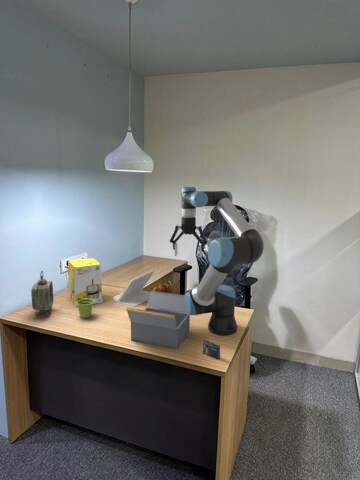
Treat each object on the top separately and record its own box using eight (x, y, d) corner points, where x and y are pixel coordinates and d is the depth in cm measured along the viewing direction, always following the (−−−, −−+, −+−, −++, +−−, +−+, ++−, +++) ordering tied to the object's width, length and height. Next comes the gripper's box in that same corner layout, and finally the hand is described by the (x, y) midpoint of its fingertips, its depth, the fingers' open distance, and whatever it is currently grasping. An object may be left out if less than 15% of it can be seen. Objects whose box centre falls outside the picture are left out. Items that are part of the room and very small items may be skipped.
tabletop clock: (50, 317, 185) (47, 274, 180) (32, 318, 183) (29, 275, 179) (54, 307, 199) (51, 267, 194) (38, 308, 197) (35, 268, 193)
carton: (189, 332, 170) (189, 313, 168) (177, 349, 153) (177, 329, 151) (146, 324, 178) (146, 307, 176) (131, 340, 161) (130, 321, 159)
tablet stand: (157, 294, 223) (157, 270, 220) (135, 307, 202) (135, 280, 198) (135, 289, 232) (135, 266, 228) (112, 301, 210) (111, 275, 207)
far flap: (189, 313, 168) (190, 313, 169) (192, 296, 171) (193, 297, 172) (147, 306, 176) (147, 307, 177) (150, 290, 179) (151, 291, 180)
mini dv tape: (202, 353, 150) (202, 341, 149) (204, 352, 151) (204, 340, 150) (218, 359, 145) (218, 347, 144) (219, 358, 146) (220, 345, 145)
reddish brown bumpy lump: (164, 304, 206) (164, 280, 203) (174, 307, 201) (174, 283, 198) (147, 311, 195) (147, 286, 192) (157, 315, 190) (157, 290, 187)
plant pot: (97, 314, 190) (97, 300, 188) (86, 320, 182) (85, 306, 180) (85, 311, 194) (85, 297, 192) (73, 317, 186) (72, 302, 184)
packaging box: (75, 307, 200) (73, 267, 195) (70, 298, 214) (68, 261, 209) (102, 302, 208) (100, 264, 203) (95, 294, 222) (93, 258, 217)
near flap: (174, 314, 146) (173, 316, 145) (177, 328, 151) (176, 330, 150) (127, 307, 154) (126, 309, 153) (131, 320, 159) (129, 322, 158)
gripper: (213, 216, 174) (212, 256, 178) (167, 215, 180) (167, 253, 184) (211, 218, 167) (210, 259, 170) (163, 216, 173) (163, 256, 177)
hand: (188, 256), depth 177 cm, fingers open, 13 cm apart
